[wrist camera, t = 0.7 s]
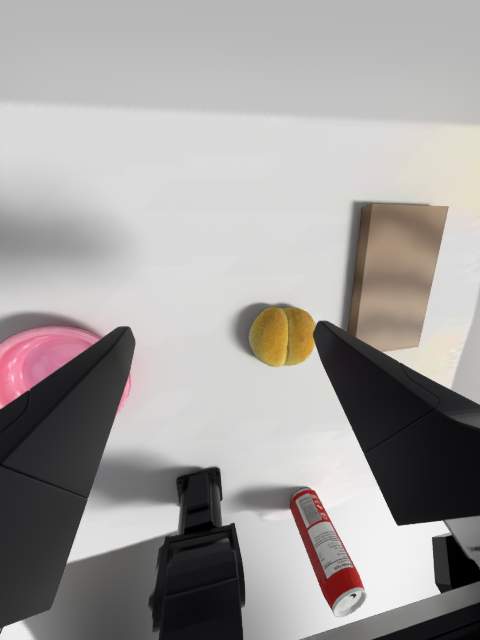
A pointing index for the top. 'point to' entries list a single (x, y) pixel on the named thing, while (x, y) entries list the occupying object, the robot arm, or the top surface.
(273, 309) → the bread roll
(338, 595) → the soda can
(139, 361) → the top surface
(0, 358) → the saucer
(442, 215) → the walnut chopping board
